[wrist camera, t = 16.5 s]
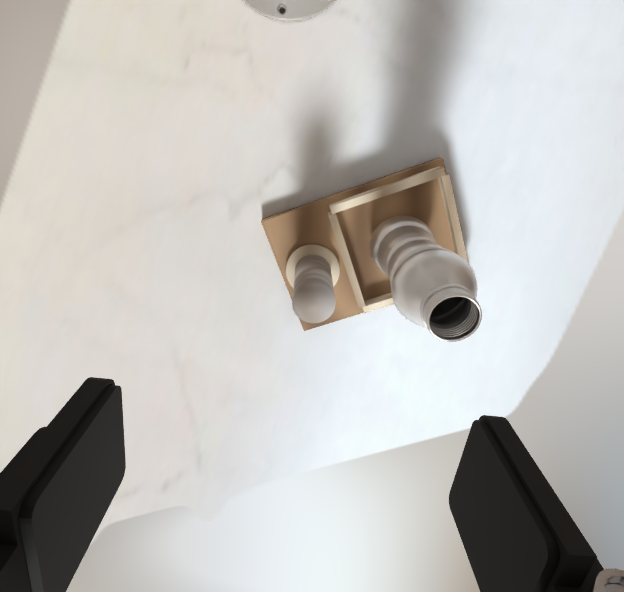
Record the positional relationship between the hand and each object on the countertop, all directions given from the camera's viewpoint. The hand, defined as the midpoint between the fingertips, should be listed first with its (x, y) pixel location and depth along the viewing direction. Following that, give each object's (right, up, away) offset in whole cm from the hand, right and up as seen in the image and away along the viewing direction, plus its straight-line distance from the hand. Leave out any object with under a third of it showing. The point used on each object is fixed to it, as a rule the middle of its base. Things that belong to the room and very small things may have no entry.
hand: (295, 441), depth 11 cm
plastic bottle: (+10, +10, +36) cm, 39 cm away
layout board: (+7, +9, +38) cm, 39 cm away
